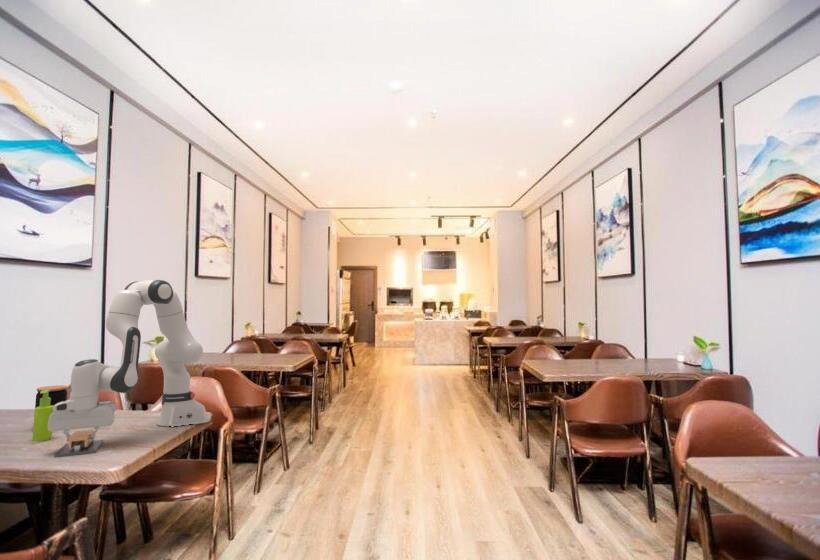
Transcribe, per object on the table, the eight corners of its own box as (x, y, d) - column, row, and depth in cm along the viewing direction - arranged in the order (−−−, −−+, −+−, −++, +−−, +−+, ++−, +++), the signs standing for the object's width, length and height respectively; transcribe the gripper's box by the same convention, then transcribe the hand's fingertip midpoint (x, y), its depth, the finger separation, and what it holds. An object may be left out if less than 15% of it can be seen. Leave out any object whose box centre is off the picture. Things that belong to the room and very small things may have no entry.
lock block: (92, 440, 164) (93, 429, 165) (87, 446, 156) (87, 435, 157) (74, 441, 162) (75, 431, 162) (68, 448, 154) (69, 437, 154)
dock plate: (103, 442, 168) (104, 429, 168) (95, 452, 155) (96, 439, 156) (65, 446, 162) (66, 433, 163) (54, 457, 150) (55, 443, 150)
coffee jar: (46, 432, 181) (49, 389, 183) (26, 430, 183) (30, 388, 185) (70, 425, 192) (73, 385, 193) (51, 424, 194) (55, 384, 195)
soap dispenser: (29, 443, 166) (33, 392, 167) (35, 438, 172) (39, 389, 173) (48, 441, 168) (52, 390, 170) (53, 436, 174) (57, 388, 176)
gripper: (117, 399, 168) (115, 434, 167) (53, 403, 159) (50, 440, 158) (114, 402, 162) (112, 438, 161) (47, 406, 153) (44, 445, 152)
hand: (81, 439), depth 159 cm, fingers closed on lock block, 6 cm apart
